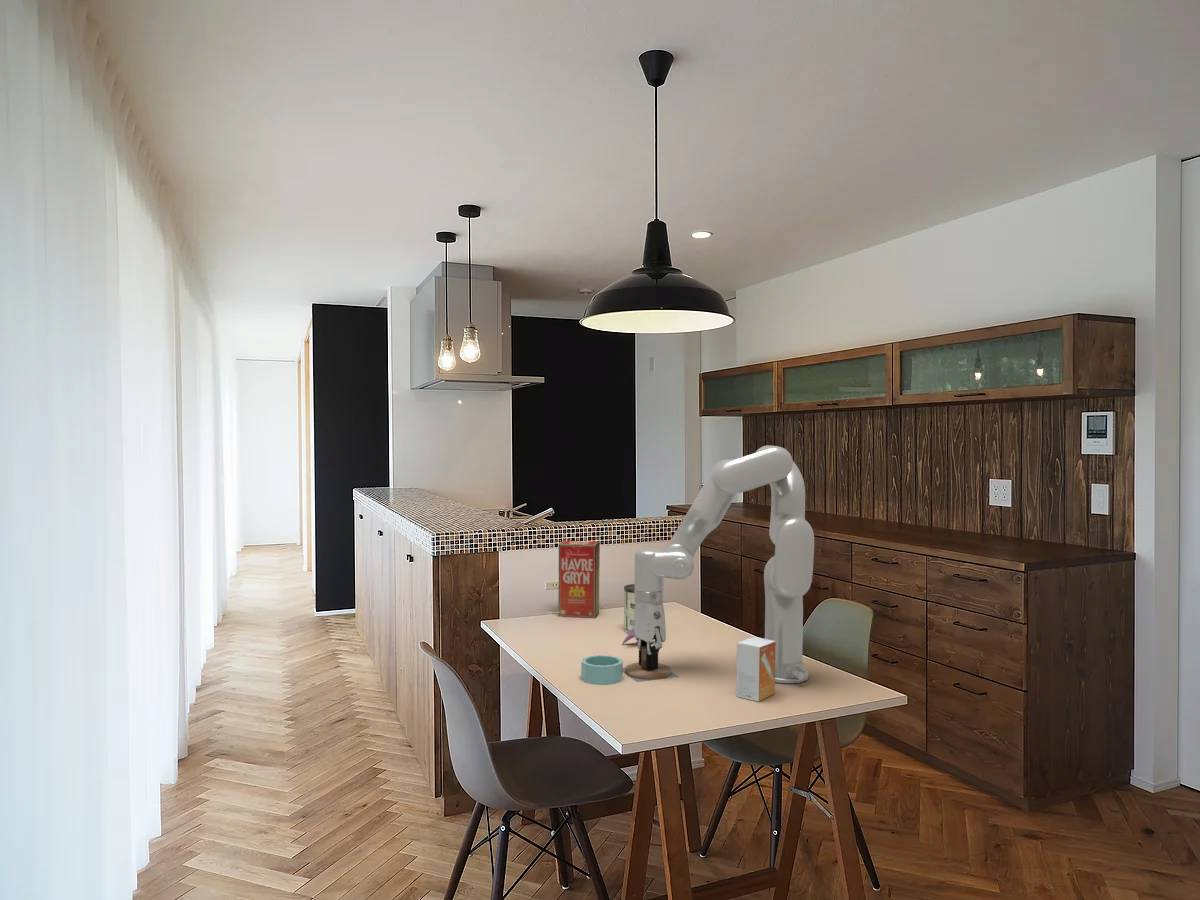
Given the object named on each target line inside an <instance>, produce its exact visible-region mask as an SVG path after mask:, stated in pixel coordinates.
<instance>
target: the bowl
mask: <svg viewBox="0 0 1200 900" xmlns="http://www.w3.org/2000/svg"><path fill="white" fill-rule="evenodd" d="M623 662H624V660H623V659H622V658H620V657H618V656H615V655H614V656H613V655H609V654H608V655H606V654H604V655H603V654H597V655H590V656H586V657H583V658H582V660H581V666H580V667H581V673H580V675H581V676H580V677H581V681H583V682H584V683H588V684H591V685H599V686H600V685H602V686H608V685H614V684H618V683H620V682H622V680H623V678H624V677H623V674H624V673H623V668H624V667H623V665H624V663H623Z"/></svg>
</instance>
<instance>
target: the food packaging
mask: <svg viewBox="0 0 1200 900" xmlns="http://www.w3.org/2000/svg"><path fill="white" fill-rule="evenodd" d="M600 548H601V547H600V541H585V540H584V541H579V540H578V541H577V540H562V542H561V543H559V544H558V602H557V603H558V605H557V606H558V609H557V610H558V616H557V617H559V616H562V617H563V618H583V619H587V618H589V619H596V618H597V617H598V615H599V614H600V559H601V558H600V555H601V554H600V552H601V551H600ZM562 617H561V618H562Z"/></svg>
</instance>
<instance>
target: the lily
mask: <svg viewBox="0 0 1200 900" xmlns="http://www.w3.org/2000/svg"><path fill="white" fill-rule="evenodd" d="M625 634H626V637H625V638H624V639H623V641H622V644H621V645H624V644H626V643H627V642H629V641H630V640H632V639H633V638H635V641H637V640H638V639H637V637H636V635H635V633H634V628H632V629H630V630H629V631H627V632H625Z"/></svg>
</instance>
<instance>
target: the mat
mask: <svg viewBox="0 0 1200 900" xmlns="http://www.w3.org/2000/svg"><path fill="white" fill-rule="evenodd" d="M623 674H624V675H626V673H625V667H623ZM626 676H627V677H629V678H630V679H632V680H633V681H635V682H637V683H639V682H640V683H641V682H649V681H651V680H645V679H637V678H633V677H630V676H628V675H626ZM679 677H680V676H679V675H678V674H676V673H674V672H672V671H671V675H670V676H669V677H666V678H663V679H662V680H666V679H672V678H673V679H674V678H679ZM656 680H657V681H658V680H659V679H655V680H654V681H656Z"/></svg>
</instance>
